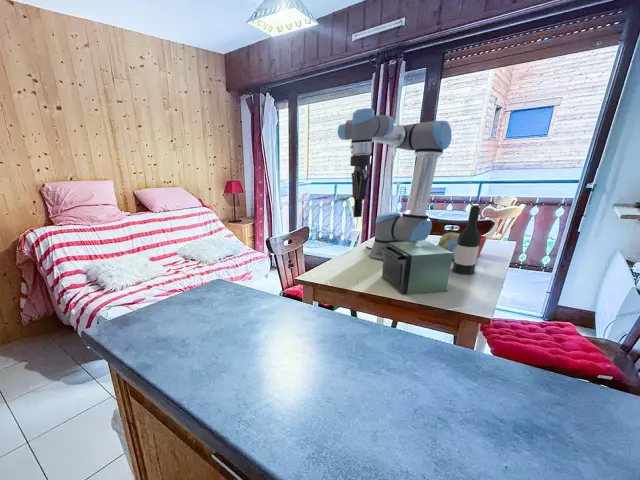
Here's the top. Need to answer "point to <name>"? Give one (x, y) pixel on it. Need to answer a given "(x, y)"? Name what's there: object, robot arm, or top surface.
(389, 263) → the oven door
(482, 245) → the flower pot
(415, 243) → the oven
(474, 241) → the wine bottle
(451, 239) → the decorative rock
